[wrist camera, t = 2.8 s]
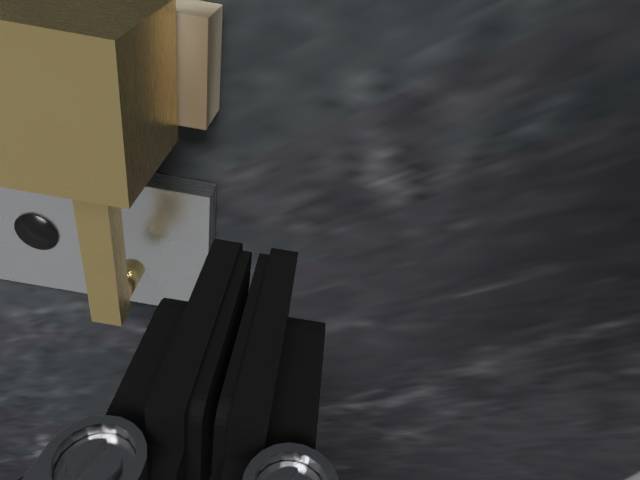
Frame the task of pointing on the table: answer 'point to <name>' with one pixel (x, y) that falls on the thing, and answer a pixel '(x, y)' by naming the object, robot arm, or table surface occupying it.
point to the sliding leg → (89, 120)
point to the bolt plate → (139, 238)
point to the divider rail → (198, 61)
